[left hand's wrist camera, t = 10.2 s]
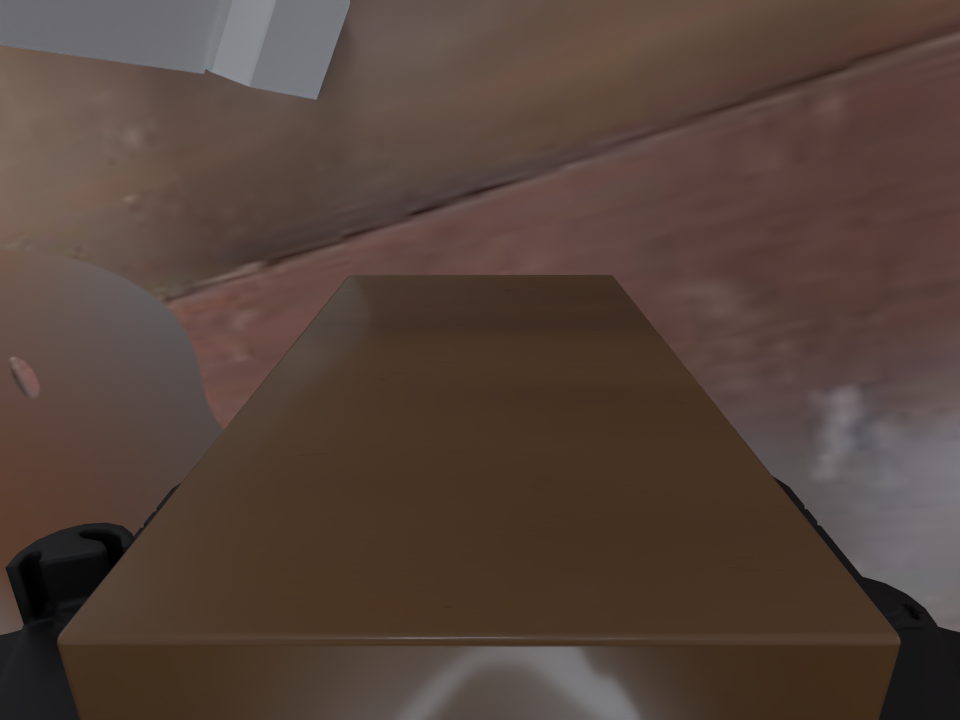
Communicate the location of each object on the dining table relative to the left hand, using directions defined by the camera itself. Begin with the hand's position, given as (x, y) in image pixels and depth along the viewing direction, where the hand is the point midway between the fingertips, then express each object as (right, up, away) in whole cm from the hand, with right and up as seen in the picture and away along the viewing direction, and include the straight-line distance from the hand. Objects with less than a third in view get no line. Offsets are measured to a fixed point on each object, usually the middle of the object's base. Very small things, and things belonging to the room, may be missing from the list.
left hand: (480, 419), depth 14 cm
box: (0, -9, +5) cm, 10 cm away
